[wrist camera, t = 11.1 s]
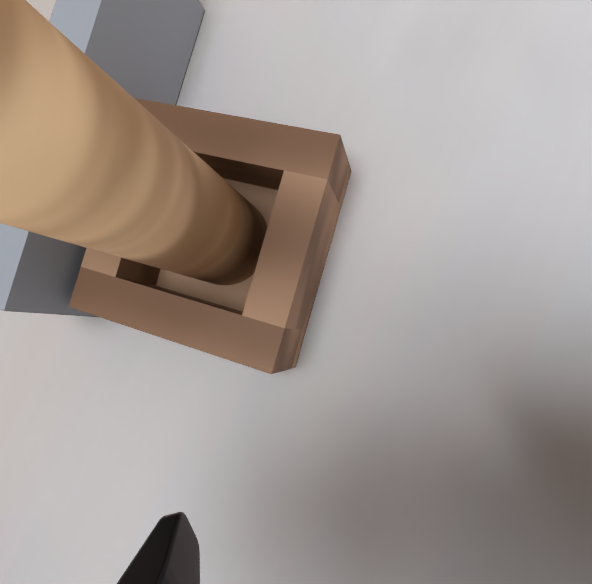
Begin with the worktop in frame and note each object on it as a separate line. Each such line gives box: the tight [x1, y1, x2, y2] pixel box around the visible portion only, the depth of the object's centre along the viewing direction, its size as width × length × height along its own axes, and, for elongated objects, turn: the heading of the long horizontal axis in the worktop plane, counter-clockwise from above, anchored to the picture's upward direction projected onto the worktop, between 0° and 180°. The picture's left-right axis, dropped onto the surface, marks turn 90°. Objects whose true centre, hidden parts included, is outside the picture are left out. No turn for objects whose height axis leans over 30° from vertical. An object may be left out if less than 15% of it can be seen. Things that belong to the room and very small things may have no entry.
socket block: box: [69, 98, 351, 374], centre depth 19 cm, size 9×9×4 cm
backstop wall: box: [0, 0, 205, 317], centre depth 19 cm, size 16×2×6 cm, turn 163°
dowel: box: [0, 0, 267, 285], centre depth 13 cm, size 4×4×14 cm
